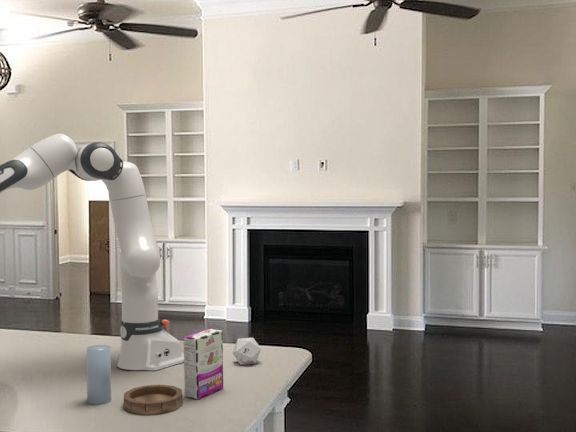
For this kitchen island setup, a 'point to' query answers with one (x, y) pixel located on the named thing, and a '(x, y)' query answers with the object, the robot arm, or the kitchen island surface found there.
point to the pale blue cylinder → (98, 374)
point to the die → (246, 351)
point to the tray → (152, 399)
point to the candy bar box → (203, 363)
